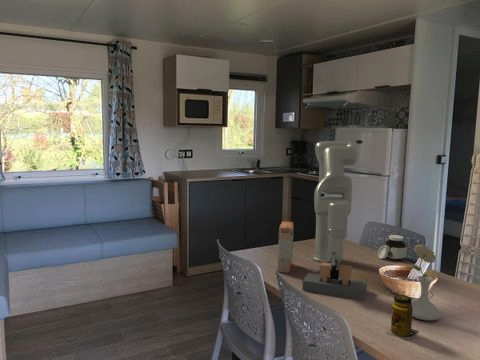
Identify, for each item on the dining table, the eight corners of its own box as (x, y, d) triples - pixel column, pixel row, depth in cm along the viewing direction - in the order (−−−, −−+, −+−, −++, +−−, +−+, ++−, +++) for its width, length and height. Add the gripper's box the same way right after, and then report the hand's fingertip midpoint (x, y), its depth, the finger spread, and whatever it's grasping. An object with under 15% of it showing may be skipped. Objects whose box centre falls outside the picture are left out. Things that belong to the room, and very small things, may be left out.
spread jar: (408, 260, 207) (409, 237, 206) (394, 264, 201) (395, 240, 199) (387, 254, 217) (389, 232, 216) (374, 257, 211) (375, 235, 209)
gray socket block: (308, 281, 176) (308, 272, 175) (366, 290, 167) (367, 281, 166) (302, 290, 167) (302, 280, 166) (364, 300, 157) (364, 290, 157)
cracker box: (290, 273, 186) (291, 228, 183) (277, 272, 187) (278, 227, 184) (292, 263, 199) (294, 221, 197) (280, 262, 200) (281, 220, 198)
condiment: (386, 333, 132) (388, 297, 131) (395, 324, 138) (397, 289, 137) (409, 341, 127) (411, 304, 126) (418, 331, 134) (420, 295, 132)
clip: (321, 283, 170) (321, 262, 169) (350, 287, 166) (351, 266, 165) (319, 286, 167) (319, 265, 166) (349, 291, 162) (350, 269, 161)
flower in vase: (448, 322, 140) (453, 251, 137) (417, 324, 138) (422, 252, 135) (425, 306, 153) (429, 240, 150) (396, 308, 151) (400, 241, 148)
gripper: (331, 227, 173) (329, 269, 175) (323, 236, 157) (321, 282, 160) (349, 229, 170) (347, 272, 172) (343, 238, 155) (341, 285, 157)
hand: (335, 276), depth 166 cm, fingers closed on clip, 4 cm apart
